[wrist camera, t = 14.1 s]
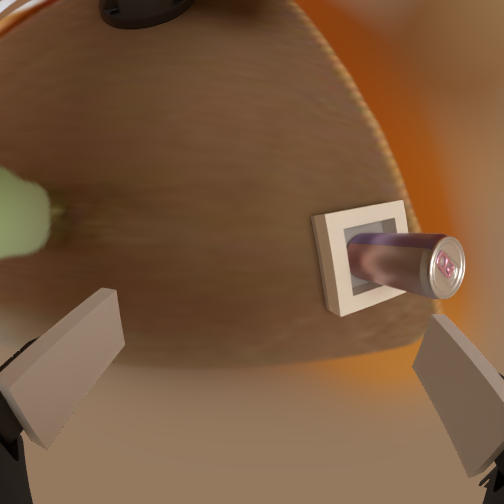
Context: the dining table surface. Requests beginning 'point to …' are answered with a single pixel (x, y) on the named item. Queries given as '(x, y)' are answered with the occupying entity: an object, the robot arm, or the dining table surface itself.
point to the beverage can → (409, 262)
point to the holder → (336, 259)
